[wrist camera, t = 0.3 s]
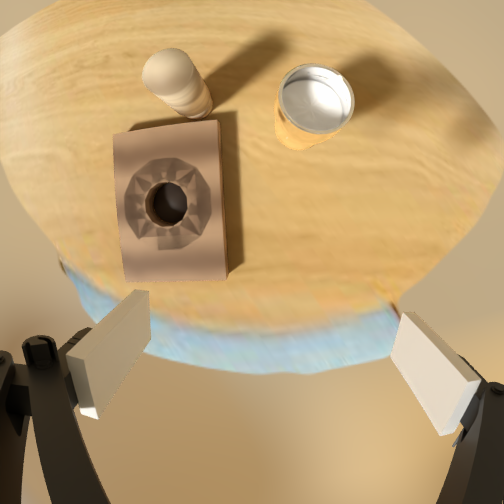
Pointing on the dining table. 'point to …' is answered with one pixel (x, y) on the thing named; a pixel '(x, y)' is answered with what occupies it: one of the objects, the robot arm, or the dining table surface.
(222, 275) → the board
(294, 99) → the metal cup
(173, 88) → the peg
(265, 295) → the dining table surface
